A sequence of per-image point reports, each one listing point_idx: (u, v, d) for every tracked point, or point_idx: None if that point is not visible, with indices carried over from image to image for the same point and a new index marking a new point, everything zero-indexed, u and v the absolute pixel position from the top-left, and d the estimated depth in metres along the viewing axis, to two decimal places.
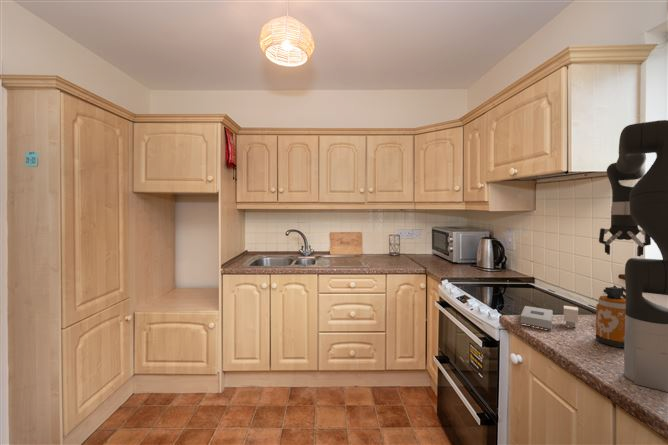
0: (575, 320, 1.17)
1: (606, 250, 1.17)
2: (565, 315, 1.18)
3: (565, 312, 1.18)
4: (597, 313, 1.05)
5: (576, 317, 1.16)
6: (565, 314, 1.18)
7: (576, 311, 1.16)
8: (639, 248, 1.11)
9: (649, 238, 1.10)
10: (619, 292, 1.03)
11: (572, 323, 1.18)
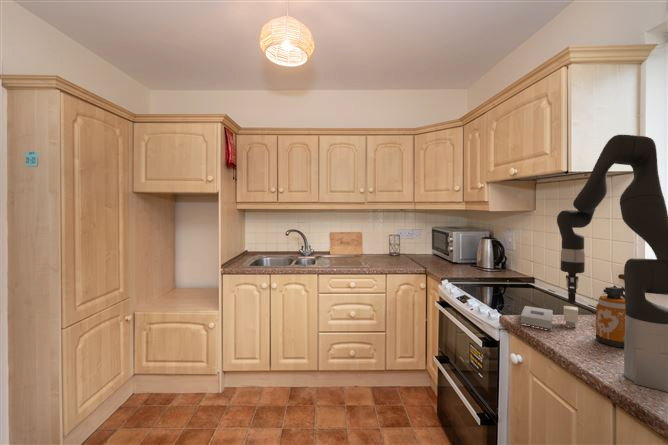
0: (575, 320, 1.17)
1: (574, 299, 1.15)
2: (565, 315, 1.18)
3: (565, 312, 1.18)
4: (597, 313, 1.05)
5: (576, 317, 1.16)
6: (565, 314, 1.18)
7: (576, 311, 1.16)
8: None
9: None
10: (619, 292, 1.03)
11: (572, 323, 1.18)
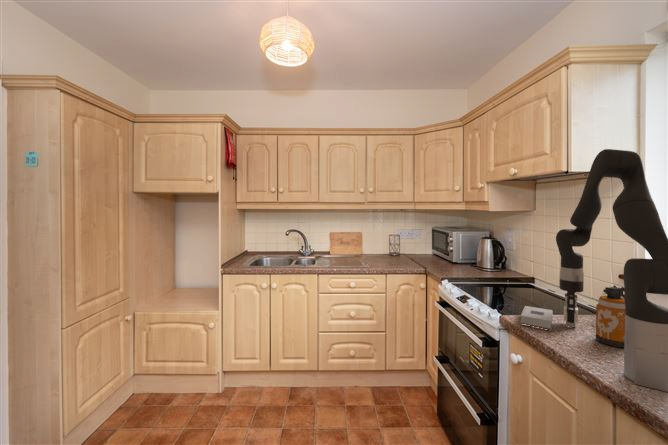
0: (575, 320, 1.17)
1: (573, 319, 1.16)
2: (565, 315, 1.18)
3: (565, 312, 1.18)
4: (597, 313, 1.05)
5: (576, 317, 1.16)
6: (565, 314, 1.18)
7: (576, 311, 1.16)
8: None
9: None
10: (619, 292, 1.03)
11: (572, 323, 1.18)
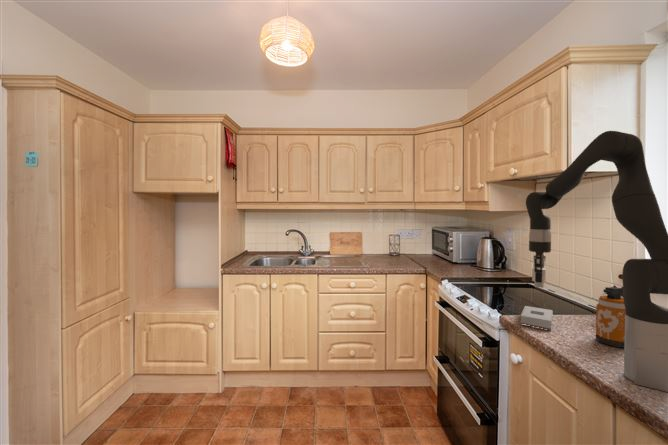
0: (543, 280, 1.20)
1: None
2: (533, 275, 1.22)
3: (533, 272, 1.22)
4: (597, 313, 1.05)
5: (544, 277, 1.20)
6: (534, 274, 1.22)
7: (544, 271, 1.20)
8: None
9: None
10: (619, 292, 1.03)
11: (540, 283, 1.22)
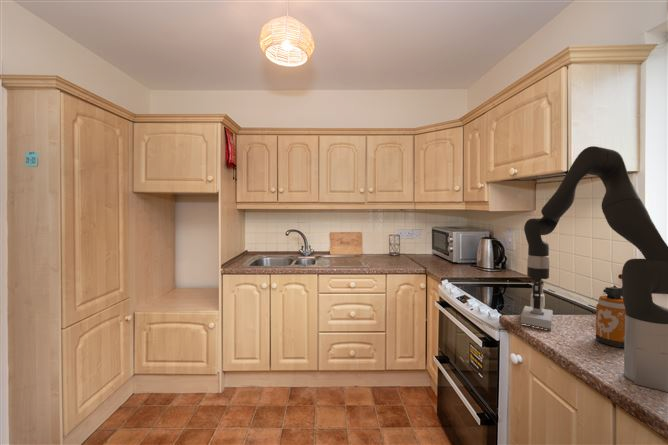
0: (541, 306, 1.21)
1: (538, 305, 1.21)
2: (532, 301, 1.23)
3: (532, 298, 1.23)
4: (597, 313, 1.05)
5: (542, 303, 1.21)
6: (532, 300, 1.23)
7: (542, 297, 1.21)
8: None
9: None
10: (619, 292, 1.03)
11: (538, 309, 1.22)
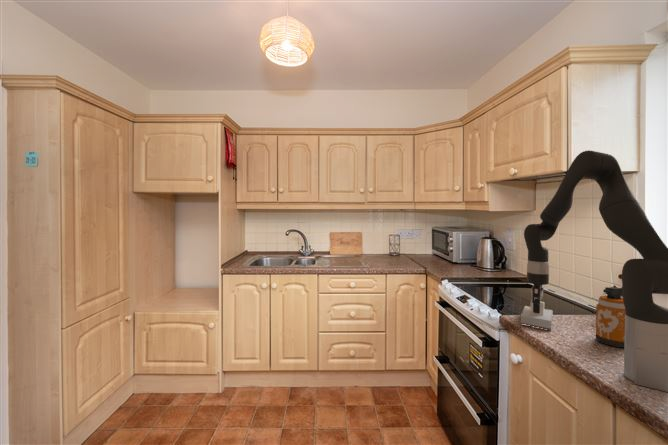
0: (541, 312, 1.21)
1: (538, 309, 1.19)
2: (531, 307, 1.23)
3: (532, 305, 1.23)
4: (597, 313, 1.05)
5: (542, 309, 1.21)
6: (532, 307, 1.23)
7: (542, 304, 1.21)
8: None
9: None
10: (619, 292, 1.03)
11: None
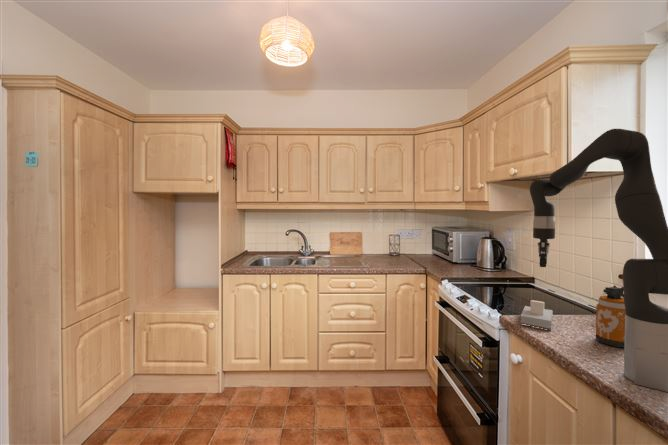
0: (541, 312, 1.21)
1: (544, 263, 1.20)
2: (531, 307, 1.23)
3: (532, 305, 1.23)
4: (597, 313, 1.05)
5: (542, 309, 1.21)
6: (532, 307, 1.23)
7: (542, 304, 1.21)
8: (546, 257, 1.27)
9: None
10: (619, 292, 1.03)
11: None
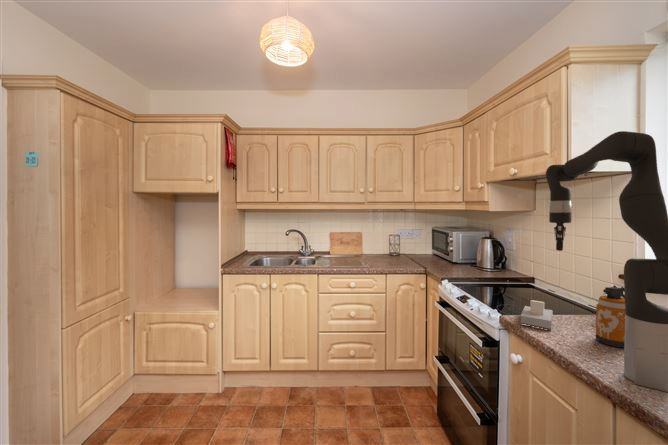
0: (541, 312, 1.21)
1: (561, 246, 1.22)
2: (531, 307, 1.23)
3: (532, 305, 1.23)
4: (597, 313, 1.05)
5: (542, 309, 1.21)
6: (532, 307, 1.23)
7: (542, 304, 1.21)
8: None
9: None
10: (619, 292, 1.03)
11: None
